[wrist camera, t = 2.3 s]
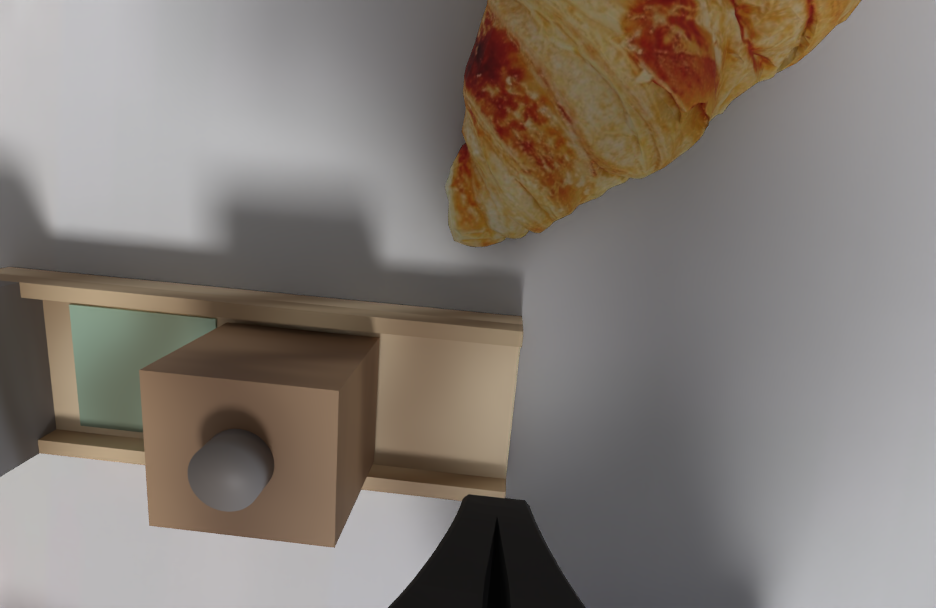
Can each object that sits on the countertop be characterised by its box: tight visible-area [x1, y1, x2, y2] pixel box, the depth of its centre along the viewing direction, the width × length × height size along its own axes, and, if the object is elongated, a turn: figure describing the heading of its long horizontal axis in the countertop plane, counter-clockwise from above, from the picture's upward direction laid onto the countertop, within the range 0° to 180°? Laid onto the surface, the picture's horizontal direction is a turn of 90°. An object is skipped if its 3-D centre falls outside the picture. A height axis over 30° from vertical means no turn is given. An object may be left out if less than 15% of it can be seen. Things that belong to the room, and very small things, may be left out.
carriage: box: [139, 322, 380, 548], centre depth 16 cm, size 5×4×5 cm
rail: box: [0, 267, 523, 501], centre depth 17 cm, size 18×6×5 cm, turn 85°
